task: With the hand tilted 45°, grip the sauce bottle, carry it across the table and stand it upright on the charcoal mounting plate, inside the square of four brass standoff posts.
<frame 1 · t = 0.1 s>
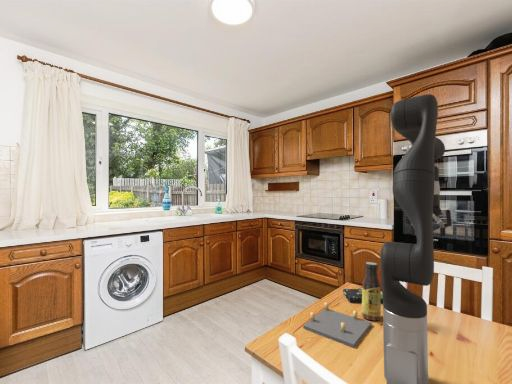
hand: (427, 236, 95), 29 cm above the table, tool pointing down, fingers open, 8 cm apart
standoff mount: (334, 322, 89), on the table
sauce bottle: (371, 318, 92), on the table
disk drive: (363, 299, 110), on the table
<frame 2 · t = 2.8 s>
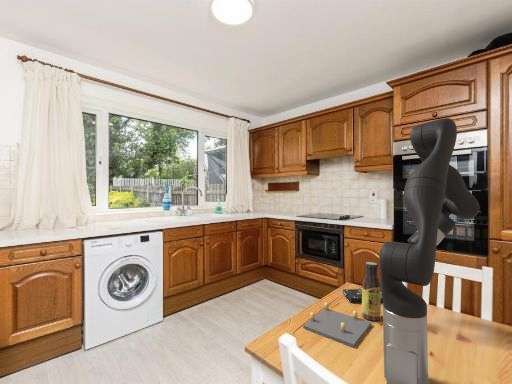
hand: (393, 269, 92), 18 cm above the table, tool tilted 45°, fingers open, 8 cm apart
nothing on the table moved.
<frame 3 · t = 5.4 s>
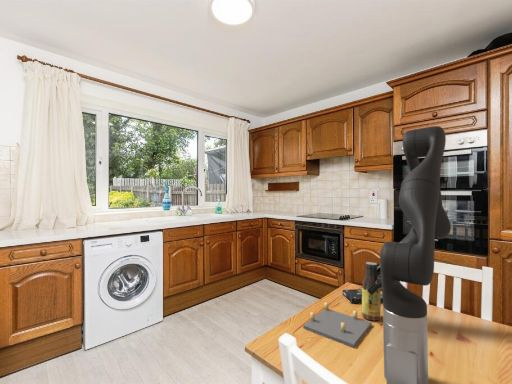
hand: (366, 289, 93), 10 cm above the table, tool tilted 45°, fingers closed on sauce bottle, 6 cm apart
sauce bottle: (371, 318, 92), on the table, touching gripper
everything else where it was.
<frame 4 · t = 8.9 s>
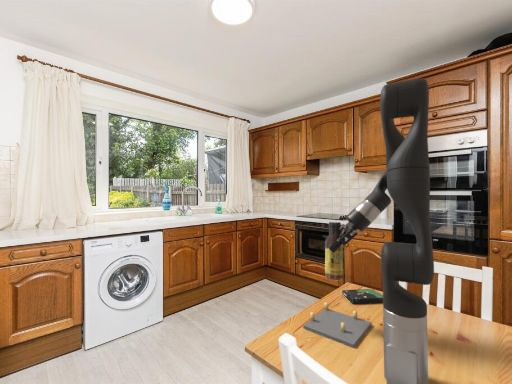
hand: (329, 248, 90), 26 cm above the table, tool tilted 45°, fingers closed on sauce bottle, 6 cm apart
sauce bottle: (334, 278, 89), point 16 cm above the table, touching gripper
everything else where it was.
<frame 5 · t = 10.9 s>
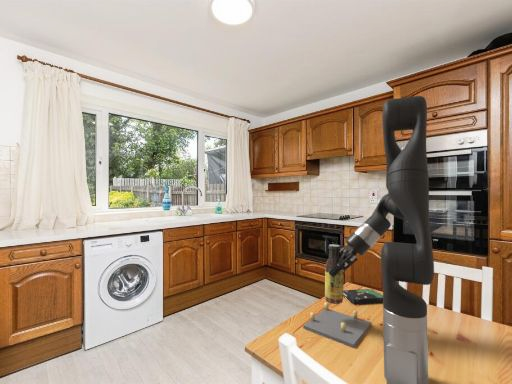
hand: (329, 271, 90), 18 cm above the table, tool tilted 45°, fingers closed on sauce bottle, 6 cm apart
sauce bottle: (334, 301, 89), point 7 cm above the table, touching gripper
everything else where it was.
when the fingers open (13 cm above the table, at t = 12.7 s): sauce bottle drops 1 cm, resting on standoff mount.
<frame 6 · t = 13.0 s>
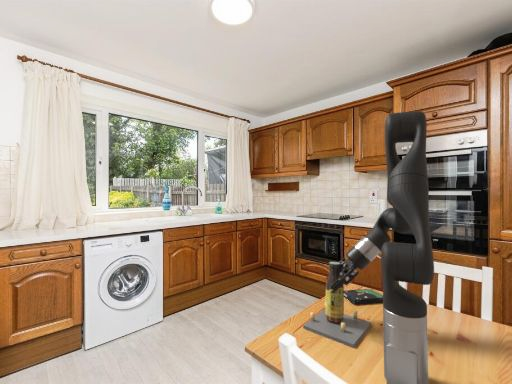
hand: (329, 284, 90), 13 cm above the table, tool tilted 45°, fingers open, 8 cm apart
sauce bottle: (334, 320, 89), point 1 cm above the table, touching standoff mount
everything else where it was.
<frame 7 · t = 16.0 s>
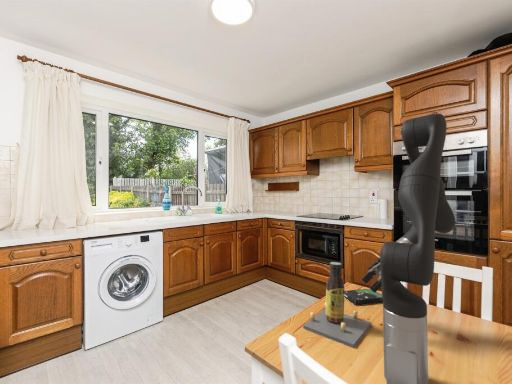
hand: (367, 285, 88), 13 cm above the table, tool tilted 45°, fingers open, 8 cm apart
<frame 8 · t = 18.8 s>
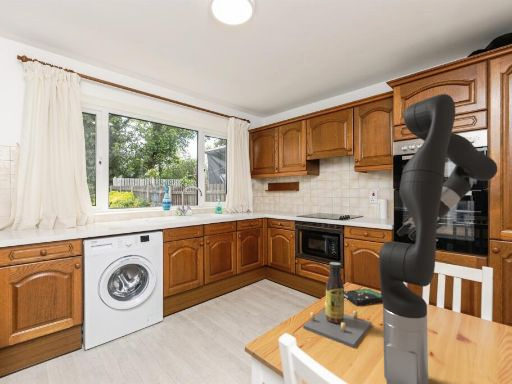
hand: (404, 236, 87), 31 cm above the table, tool tilted 45°, fingers open, 8 cm apart
at the end: sauce bottle 0.3 cm off-centre on the standoff mount, point 0.8 cm above the standoff mount's base; sauce bottle tilted 0°; the gripper is holding nothing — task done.
